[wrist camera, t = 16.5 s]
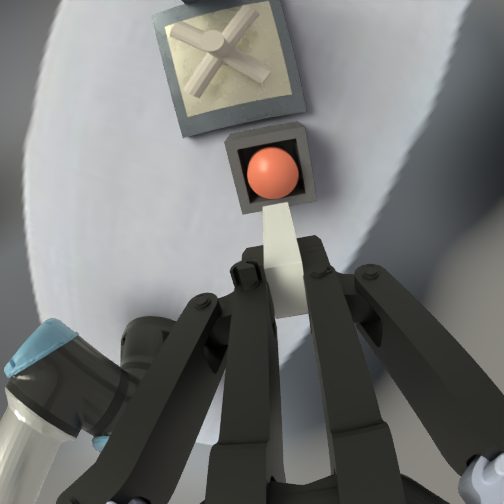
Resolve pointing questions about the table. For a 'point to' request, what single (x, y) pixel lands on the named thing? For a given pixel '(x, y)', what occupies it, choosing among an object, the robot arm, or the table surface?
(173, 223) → the table surface
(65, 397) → the robot arm
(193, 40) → the pipe connector
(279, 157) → the press button
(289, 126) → the button housing
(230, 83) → the press frame
